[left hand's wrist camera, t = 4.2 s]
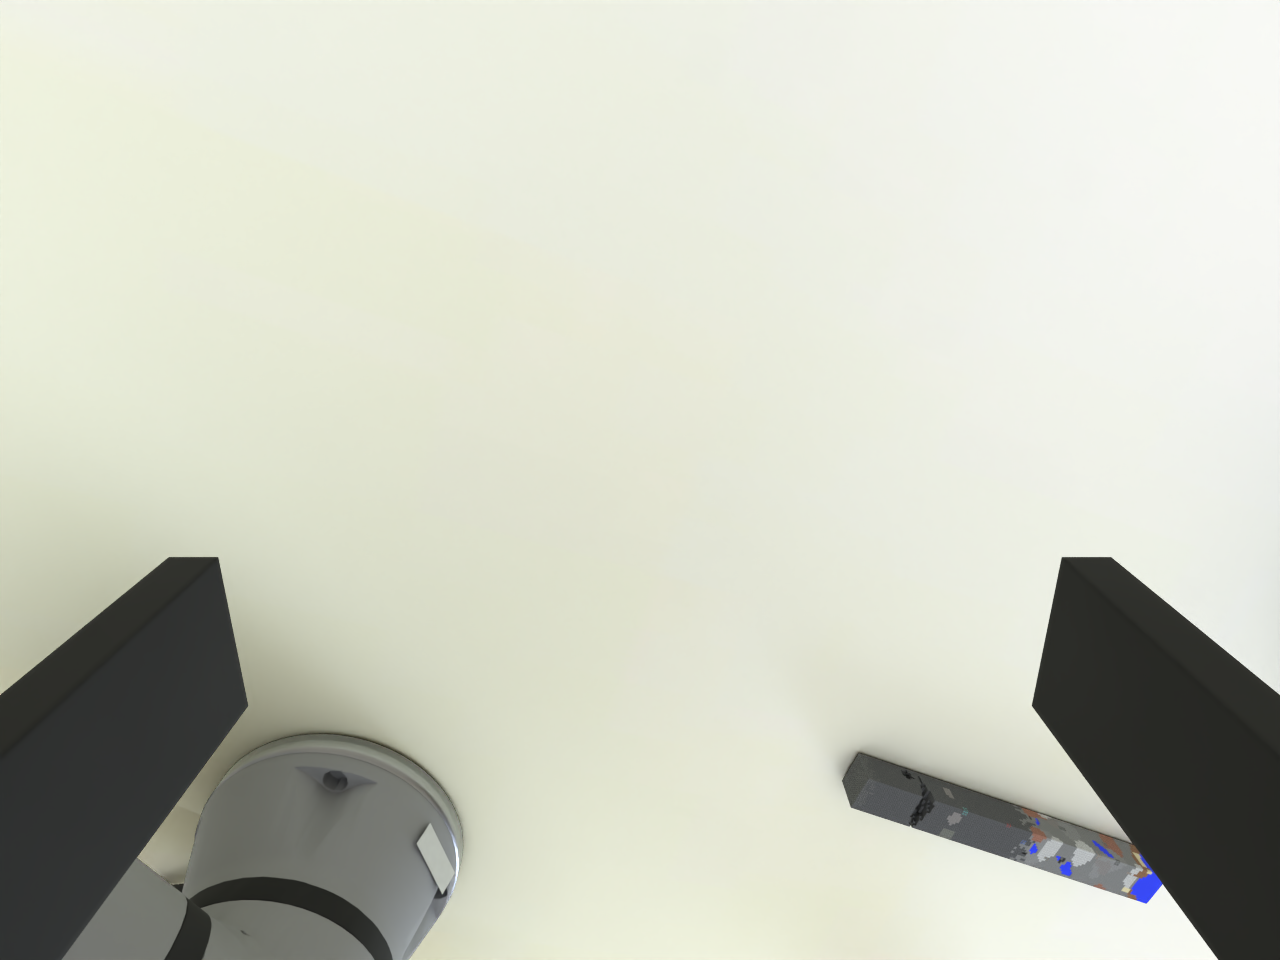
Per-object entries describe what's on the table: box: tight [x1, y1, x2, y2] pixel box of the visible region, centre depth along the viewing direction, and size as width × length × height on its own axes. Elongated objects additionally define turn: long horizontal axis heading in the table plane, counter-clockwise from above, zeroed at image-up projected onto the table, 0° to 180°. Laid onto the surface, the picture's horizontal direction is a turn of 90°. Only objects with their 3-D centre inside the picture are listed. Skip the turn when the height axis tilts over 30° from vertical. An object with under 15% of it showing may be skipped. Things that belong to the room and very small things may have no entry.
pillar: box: [842, 753, 1162, 903], centre depth 48 cm, size 2×2×20 cm
